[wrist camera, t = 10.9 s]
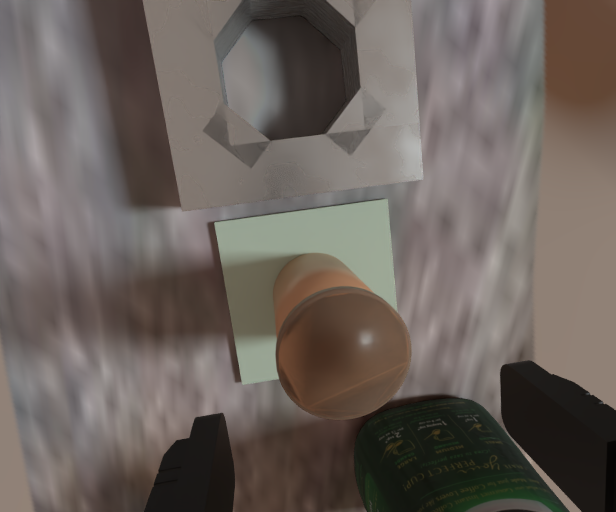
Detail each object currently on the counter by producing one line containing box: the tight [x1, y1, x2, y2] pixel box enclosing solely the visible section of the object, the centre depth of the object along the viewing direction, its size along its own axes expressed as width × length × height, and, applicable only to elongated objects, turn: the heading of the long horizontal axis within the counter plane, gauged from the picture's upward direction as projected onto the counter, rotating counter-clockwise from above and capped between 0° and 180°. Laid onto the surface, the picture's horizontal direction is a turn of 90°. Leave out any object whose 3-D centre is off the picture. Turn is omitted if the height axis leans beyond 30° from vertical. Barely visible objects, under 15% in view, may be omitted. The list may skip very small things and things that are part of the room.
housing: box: [143, 0, 423, 211], centre depth 21 cm, size 12×12×4 cm
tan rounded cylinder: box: [273, 253, 411, 420], centre depth 20 cm, size 5×5×9 cm
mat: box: [214, 199, 397, 385], centre depth 24 cm, size 10×10×1 cm
